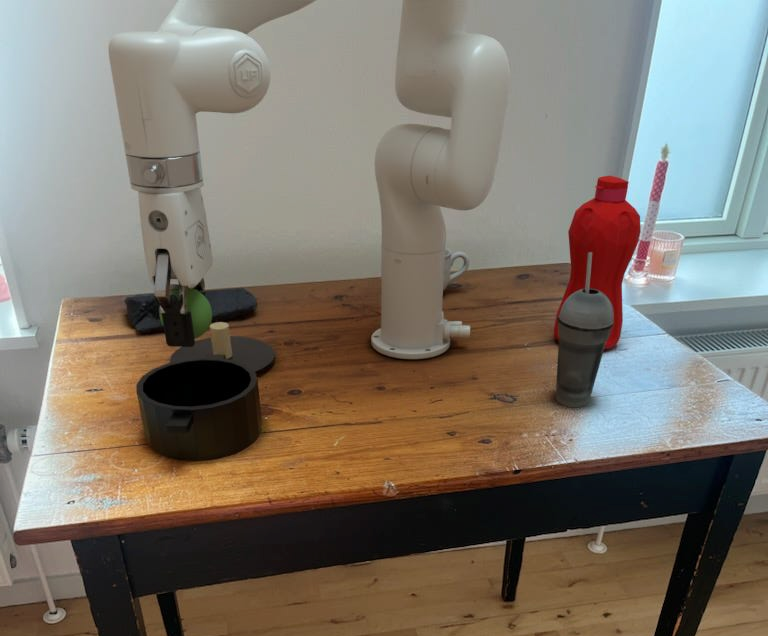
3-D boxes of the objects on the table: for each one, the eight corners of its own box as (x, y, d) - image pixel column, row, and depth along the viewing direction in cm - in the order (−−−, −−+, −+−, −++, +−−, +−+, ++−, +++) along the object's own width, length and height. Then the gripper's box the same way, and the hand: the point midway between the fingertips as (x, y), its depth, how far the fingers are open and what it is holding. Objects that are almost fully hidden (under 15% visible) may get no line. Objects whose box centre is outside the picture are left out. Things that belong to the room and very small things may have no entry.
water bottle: (635, 346, 121) (670, 179, 106) (580, 358, 117) (609, 186, 102) (597, 326, 127) (626, 167, 113) (544, 337, 123) (567, 173, 109)
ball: (220, 329, 92) (214, 280, 88) (208, 348, 87) (201, 297, 84) (171, 327, 92) (164, 279, 89) (157, 347, 87) (148, 296, 84)
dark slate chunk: (264, 322, 128) (262, 294, 125) (131, 337, 122) (125, 309, 119) (248, 292, 140) (246, 267, 137) (125, 305, 134) (120, 279, 131)
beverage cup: (568, 416, 101) (593, 267, 89) (535, 394, 106) (554, 251, 95) (609, 405, 104) (639, 259, 92) (575, 384, 109) (599, 243, 97)
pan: (273, 397, 105) (269, 350, 101) (245, 474, 89) (239, 422, 85) (170, 394, 105) (162, 347, 101) (123, 470, 89) (111, 418, 85)
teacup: (387, 301, 137) (388, 256, 132) (396, 282, 145) (397, 239, 141) (464, 306, 135) (467, 261, 130) (468, 286, 143) (471, 244, 139)
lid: (282, 344, 120) (280, 307, 117) (265, 387, 108) (262, 348, 104) (186, 341, 121) (181, 305, 117) (158, 384, 108) (151, 345, 105)
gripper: (178, 190, 72) (202, 365, 82) (219, 156, 86) (235, 310, 96) (101, 188, 72) (134, 363, 82) (154, 155, 86) (177, 308, 96)
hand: (188, 333), depth 89 cm, fingers closed on ball, 5 cm apart
